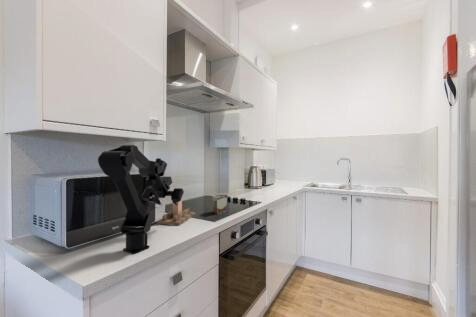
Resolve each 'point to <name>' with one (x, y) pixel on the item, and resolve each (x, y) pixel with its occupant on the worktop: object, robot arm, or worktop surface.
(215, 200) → the food container
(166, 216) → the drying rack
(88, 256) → the worktop surface
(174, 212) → the clay strip
